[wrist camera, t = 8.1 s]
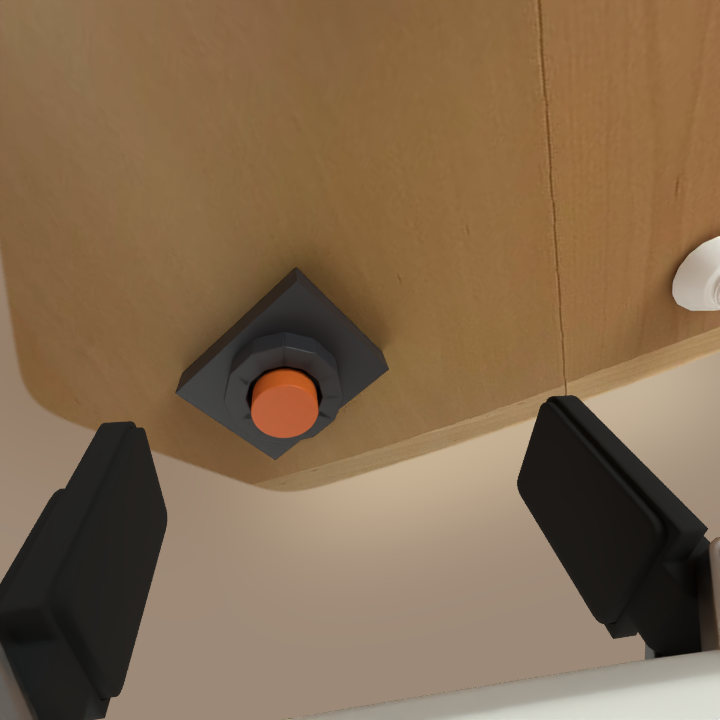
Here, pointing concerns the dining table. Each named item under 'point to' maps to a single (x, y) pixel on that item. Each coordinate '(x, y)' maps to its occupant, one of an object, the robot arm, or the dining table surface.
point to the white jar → (699, 278)
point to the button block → (283, 360)
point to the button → (284, 403)
